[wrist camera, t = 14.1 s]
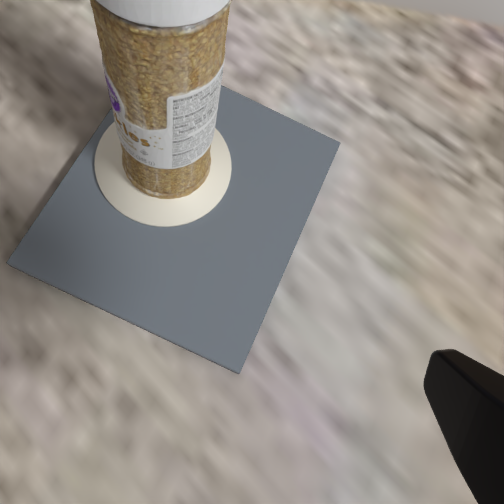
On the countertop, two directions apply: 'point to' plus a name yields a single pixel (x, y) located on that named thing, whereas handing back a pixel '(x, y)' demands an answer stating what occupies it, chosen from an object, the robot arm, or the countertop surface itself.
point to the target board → (185, 231)
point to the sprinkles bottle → (164, 87)
